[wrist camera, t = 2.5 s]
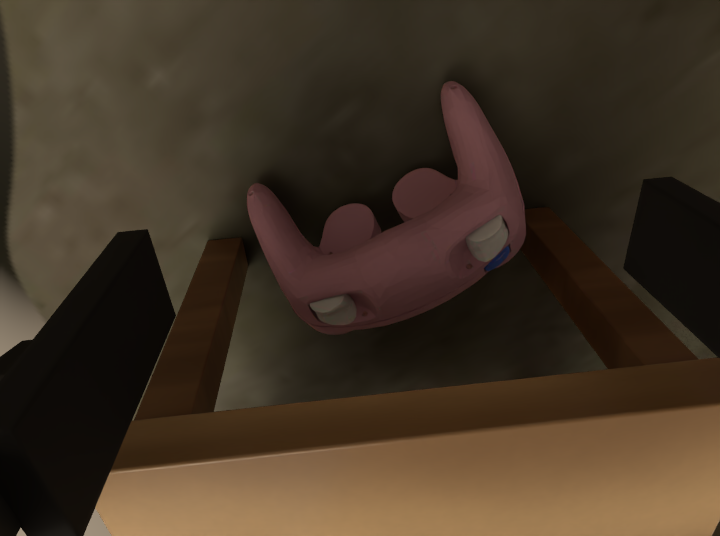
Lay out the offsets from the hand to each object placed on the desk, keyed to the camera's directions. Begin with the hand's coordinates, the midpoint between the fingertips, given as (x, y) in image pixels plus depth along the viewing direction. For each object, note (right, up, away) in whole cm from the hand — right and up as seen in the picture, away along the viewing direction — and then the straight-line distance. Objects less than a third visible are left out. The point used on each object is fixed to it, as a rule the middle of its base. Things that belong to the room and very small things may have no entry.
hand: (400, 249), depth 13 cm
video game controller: (0, +3, +8) cm, 8 cm away
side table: (0, -4, +11) cm, 12 cm away
